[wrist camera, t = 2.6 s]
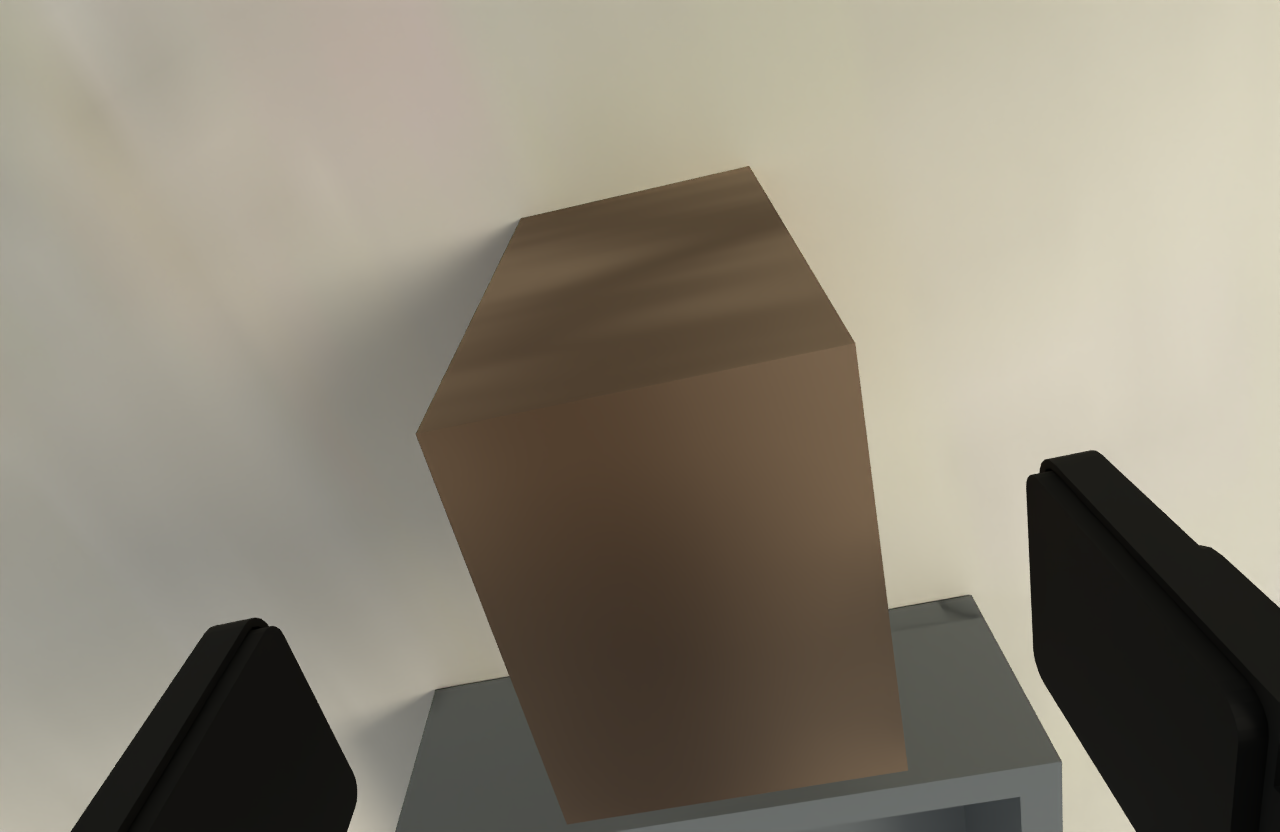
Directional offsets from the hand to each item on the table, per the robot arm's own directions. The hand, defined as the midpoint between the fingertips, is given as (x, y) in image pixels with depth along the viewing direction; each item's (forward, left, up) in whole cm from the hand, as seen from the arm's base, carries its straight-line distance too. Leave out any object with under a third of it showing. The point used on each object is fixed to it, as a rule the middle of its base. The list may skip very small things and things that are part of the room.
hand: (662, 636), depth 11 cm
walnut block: (0, -1, -9) cm, 9 cm away
